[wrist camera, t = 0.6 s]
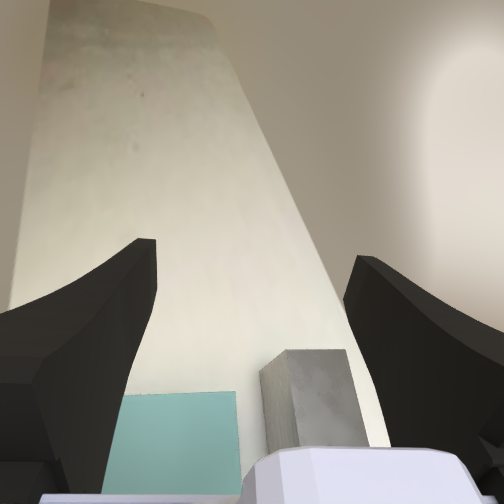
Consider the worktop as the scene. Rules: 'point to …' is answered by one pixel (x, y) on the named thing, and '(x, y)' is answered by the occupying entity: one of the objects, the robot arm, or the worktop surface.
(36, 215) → the worktop surface
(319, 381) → the block
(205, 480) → the stand
